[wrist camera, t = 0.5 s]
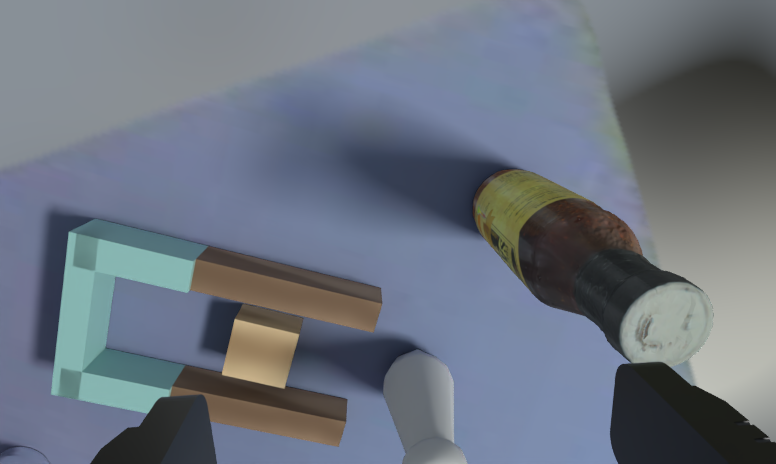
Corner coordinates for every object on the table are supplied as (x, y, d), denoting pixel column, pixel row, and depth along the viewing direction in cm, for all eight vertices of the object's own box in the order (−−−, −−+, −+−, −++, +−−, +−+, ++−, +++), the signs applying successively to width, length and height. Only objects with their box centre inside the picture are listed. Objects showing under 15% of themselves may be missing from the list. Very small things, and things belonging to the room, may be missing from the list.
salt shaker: (406, 410, 43) (424, 541, 31) (368, 364, 42) (371, 483, 29) (461, 376, 42) (502, 496, 30) (425, 328, 41) (452, 434, 28)
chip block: (289, 367, 42) (284, 388, 39) (231, 354, 41) (221, 374, 38) (303, 316, 40) (299, 334, 37) (243, 302, 40) (234, 319, 37)
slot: (340, 422, 43) (338, 446, 40) (180, 390, 41) (167, 412, 38) (380, 288, 40) (382, 303, 37) (208, 246, 38) (195, 259, 35)
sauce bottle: (453, 216, 38) (545, 344, 19) (502, 149, 37) (652, 216, 18) (517, 259, 39) (662, 418, 20) (566, 196, 38) (770, 305, 19)
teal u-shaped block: (180, 390, 41) (164, 416, 38) (76, 368, 40) (50, 394, 37) (208, 246, 38) (193, 261, 34) (95, 218, 37) (68, 231, 33)
